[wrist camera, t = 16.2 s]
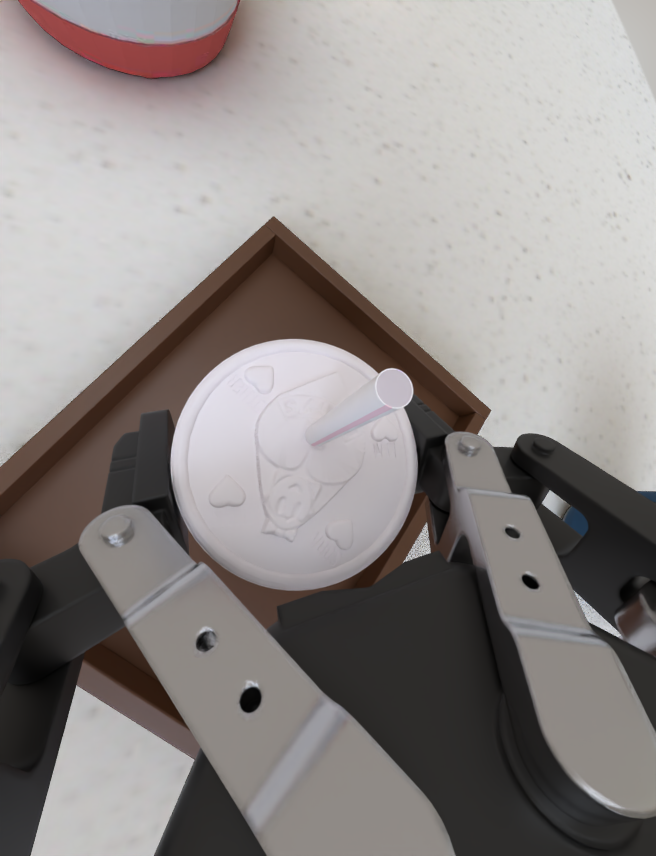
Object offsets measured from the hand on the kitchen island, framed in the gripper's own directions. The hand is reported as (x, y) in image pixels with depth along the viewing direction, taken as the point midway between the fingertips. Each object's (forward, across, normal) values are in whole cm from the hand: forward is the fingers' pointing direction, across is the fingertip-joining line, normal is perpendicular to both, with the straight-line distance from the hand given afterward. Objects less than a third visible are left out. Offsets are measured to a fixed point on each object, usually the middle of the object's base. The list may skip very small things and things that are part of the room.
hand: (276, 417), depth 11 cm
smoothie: (+4, 0, +6) cm, 7 cm away
